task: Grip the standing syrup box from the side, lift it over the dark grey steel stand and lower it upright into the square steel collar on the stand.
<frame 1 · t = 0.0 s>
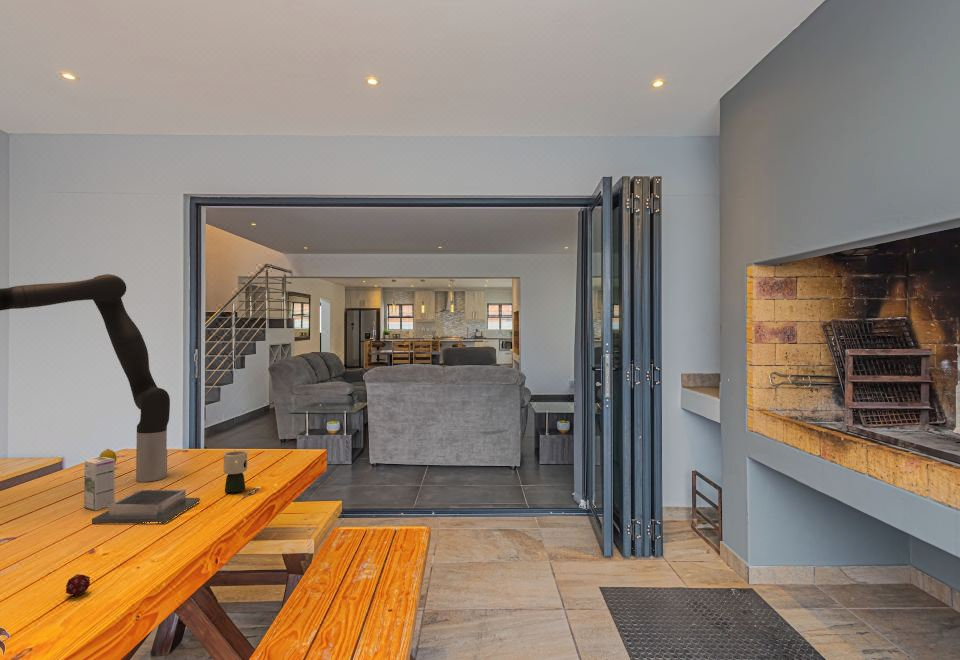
syrup box: (99, 507, 153), on the table
dice: (77, 595, 102), on the table
lemon: (107, 470, 194), on the table
beige trophy cup: (235, 492, 169), on the table
collar stand: (149, 512, 149), on the table
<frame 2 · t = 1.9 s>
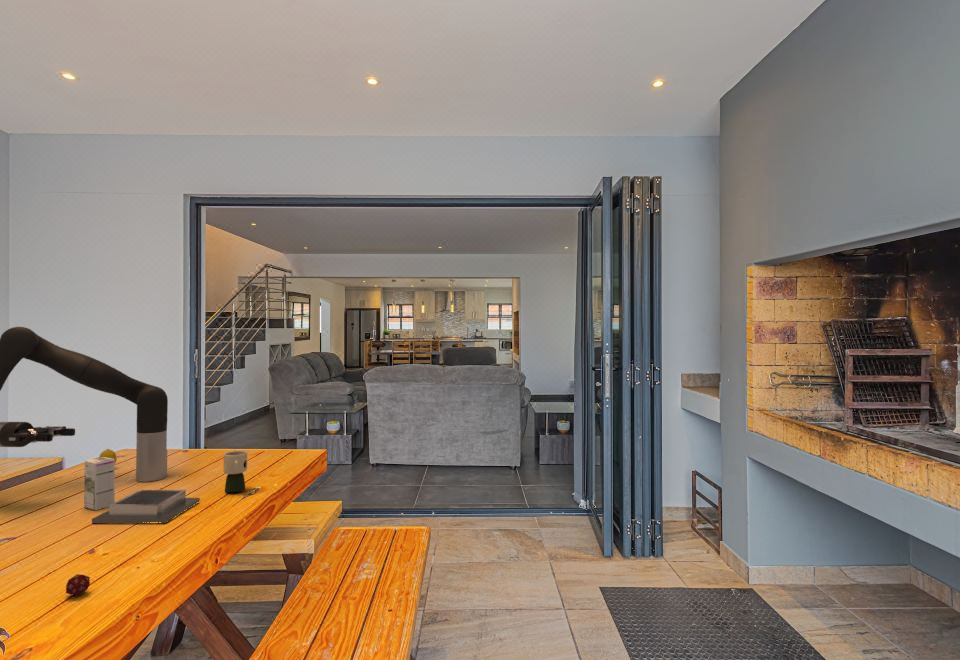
hand: (63, 434, 153), 22 cm above the table, tool horizontal, fingers open, 8 cm apart
nothing on the table moved.
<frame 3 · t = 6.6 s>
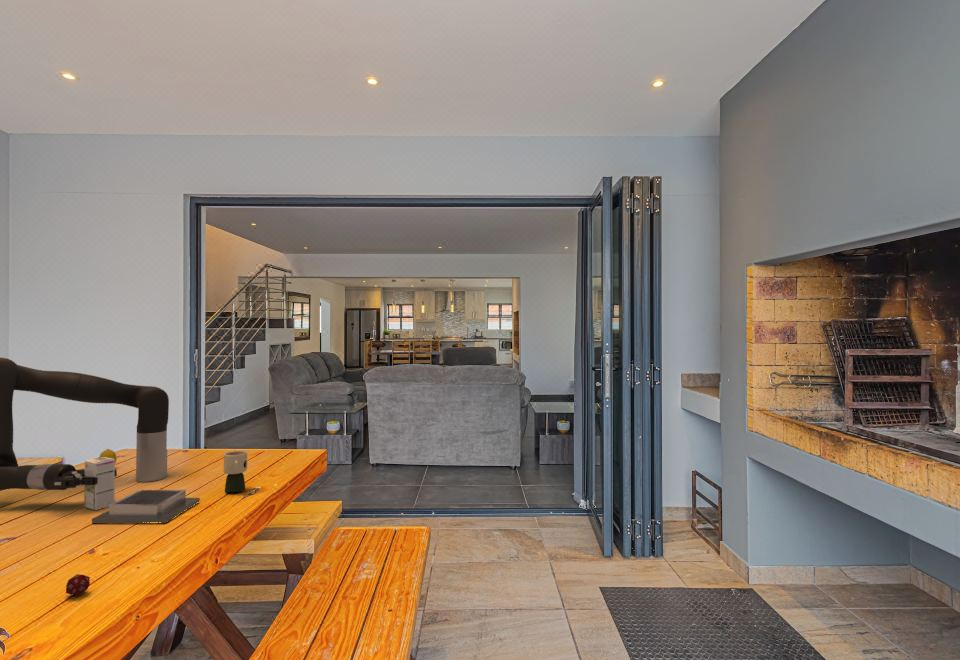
hand: (106, 477, 153), 9 cm above the table, tool horizontal, fingers closed on syrup box, 7 cm apart
syrup box: (99, 507, 153), on the table, touching gripper
everything else where it was.
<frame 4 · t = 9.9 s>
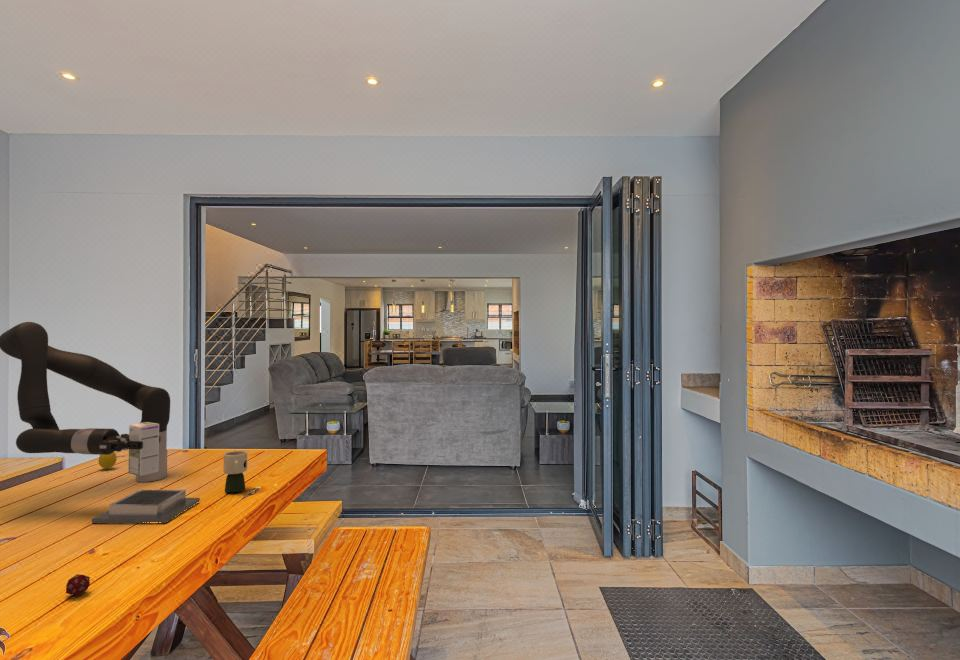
hand: (151, 442, 149), 21 cm above the table, tool horizontal, fingers closed on syrup box, 7 cm apart
syrup box: (143, 473, 149), point 12 cm above the table, touching gripper
everything else where it was.
when the fingers open (11 cm above the table, at t = 13.5 s): syrup box stays where it is, resting on collar stand.
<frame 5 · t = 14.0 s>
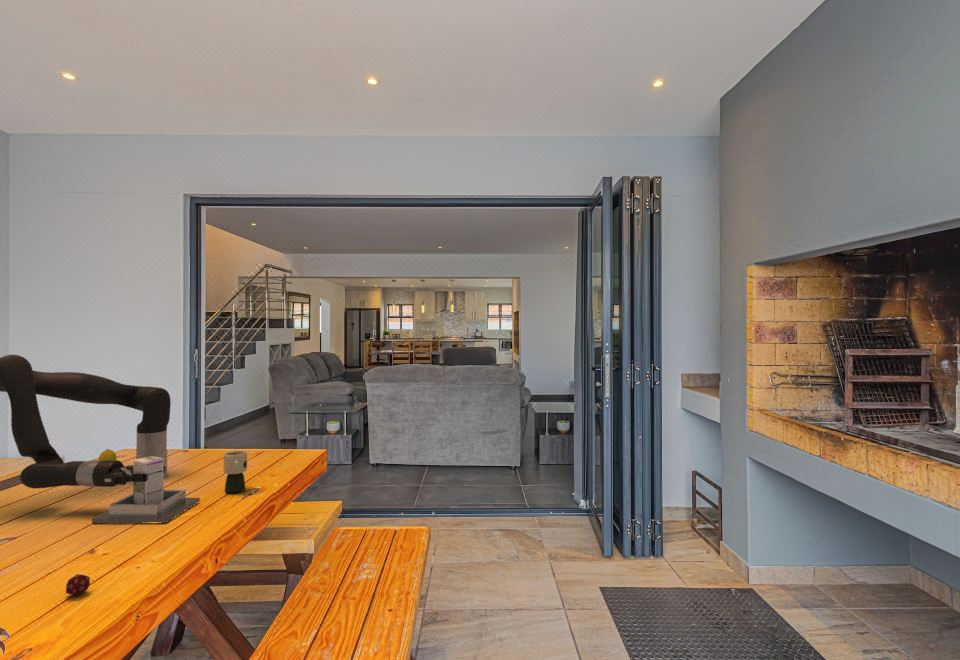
hand: (156, 473, 149), 12 cm above the table, tool horizontal, fingers open, 8 cm apart
syrup box: (148, 508, 148), point 1 cm above the table, touching collar stand, gripper
everything else where it was.
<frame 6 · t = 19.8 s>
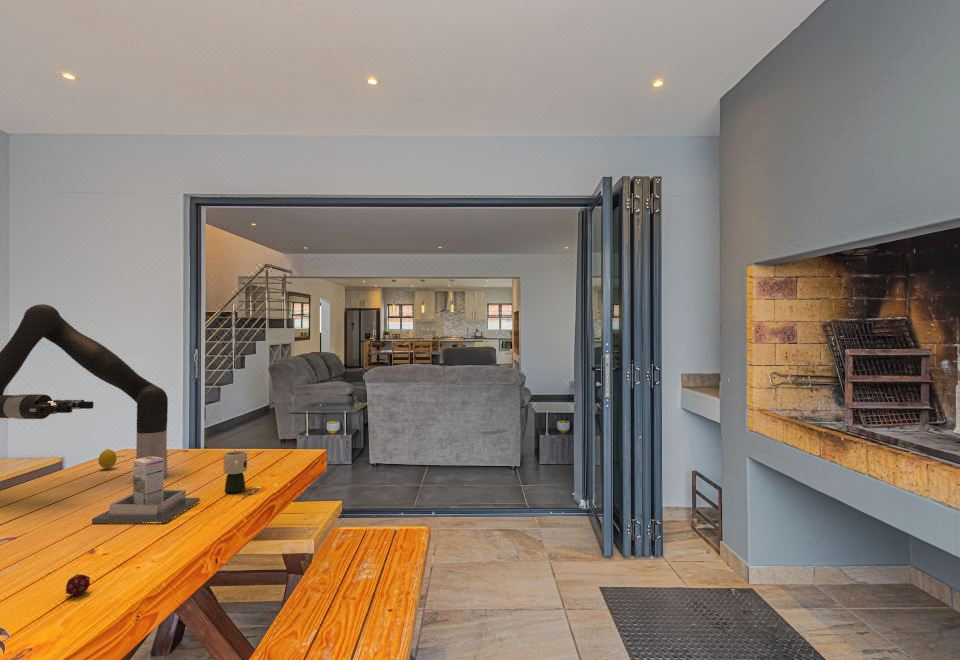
hand: (82, 407, 155), 30 cm above the table, tool horizontal, fingers open, 8 cm apart
syrup box: (148, 508, 148), point 1 cm above the table, touching collar stand
everything else where it was.
at the end: syrup box inside the target area on the collar stand (0.2 cm from its centre), point 1.3 cm above the collar stand's base; syrup box tilted 0°; the gripper is holding nothing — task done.
